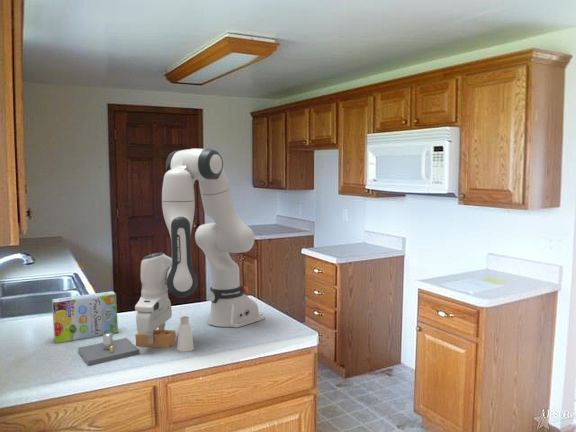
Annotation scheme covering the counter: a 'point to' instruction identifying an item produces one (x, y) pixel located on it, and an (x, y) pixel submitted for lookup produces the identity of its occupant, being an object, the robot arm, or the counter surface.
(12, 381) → the counter surface
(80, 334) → the snack box
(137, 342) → the orange block with recesses
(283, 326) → the counter surface
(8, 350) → the counter surface
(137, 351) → the base plate
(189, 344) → the pepper shaker
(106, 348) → the steel post
